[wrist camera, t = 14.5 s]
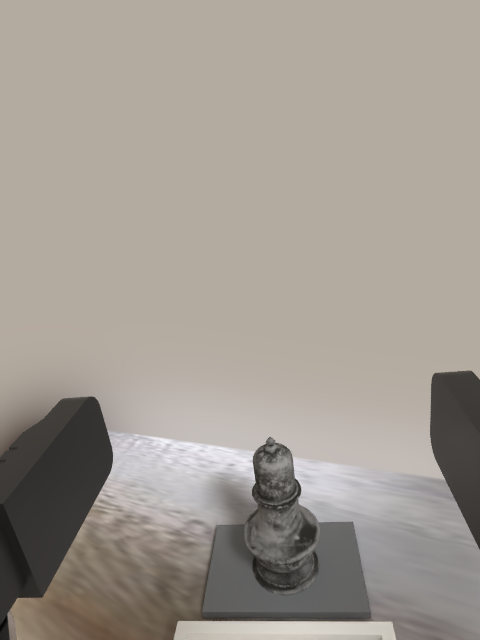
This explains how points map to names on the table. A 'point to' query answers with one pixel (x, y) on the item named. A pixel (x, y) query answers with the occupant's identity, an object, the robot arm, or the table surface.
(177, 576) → the table surface
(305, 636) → the frame
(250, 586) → the rubber mat
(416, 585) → the table surface
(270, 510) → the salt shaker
